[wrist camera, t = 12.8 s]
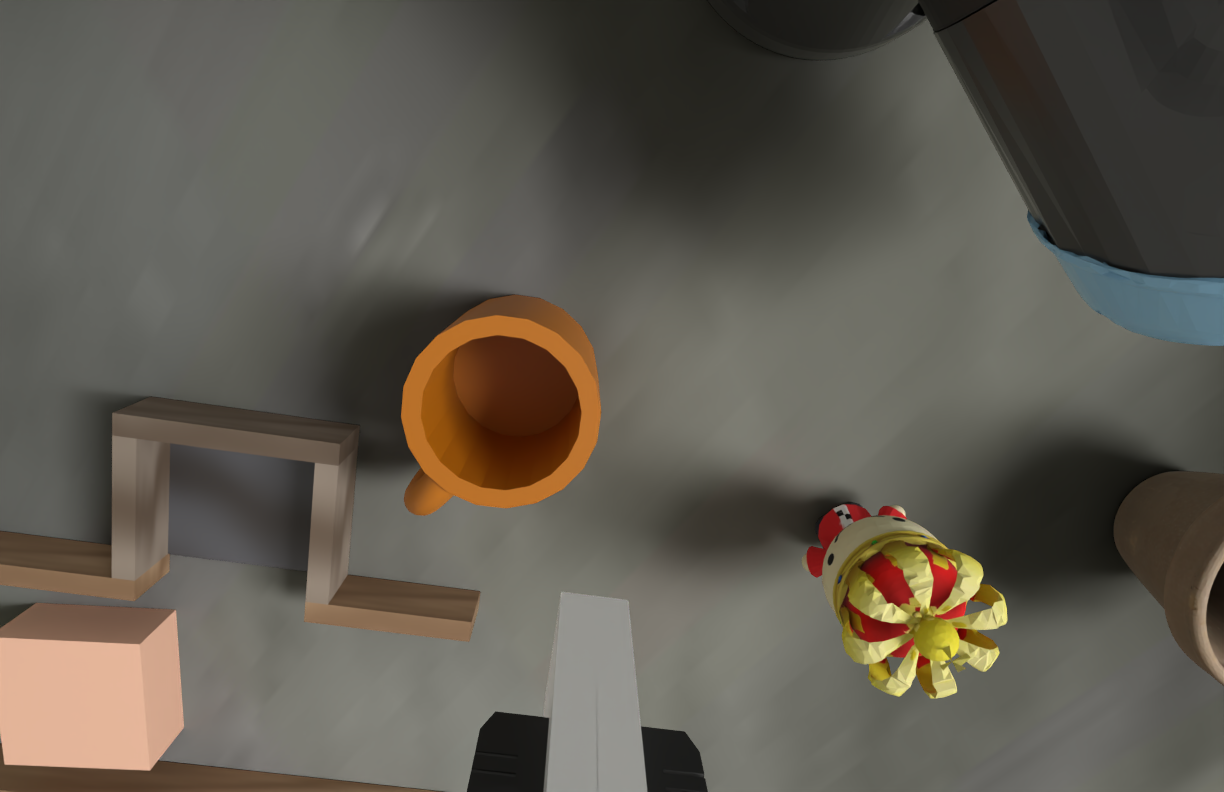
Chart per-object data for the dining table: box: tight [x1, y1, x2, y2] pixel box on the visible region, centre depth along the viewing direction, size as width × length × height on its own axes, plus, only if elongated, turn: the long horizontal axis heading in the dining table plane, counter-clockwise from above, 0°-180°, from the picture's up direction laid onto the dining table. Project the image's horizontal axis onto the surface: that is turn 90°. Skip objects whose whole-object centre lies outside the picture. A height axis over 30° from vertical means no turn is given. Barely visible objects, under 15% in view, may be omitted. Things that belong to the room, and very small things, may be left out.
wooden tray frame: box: [0, 397, 480, 792], centre depth 43 cm, size 25×30×4 cm
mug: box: [401, 295, 601, 515], centre depth 38 cm, size 9×12×9 cm
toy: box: [802, 502, 1007, 698], centre depth 38 cm, size 7×7×15 cm
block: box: [0, 603, 184, 771], centre depth 44 cm, size 8×8×4 cm
